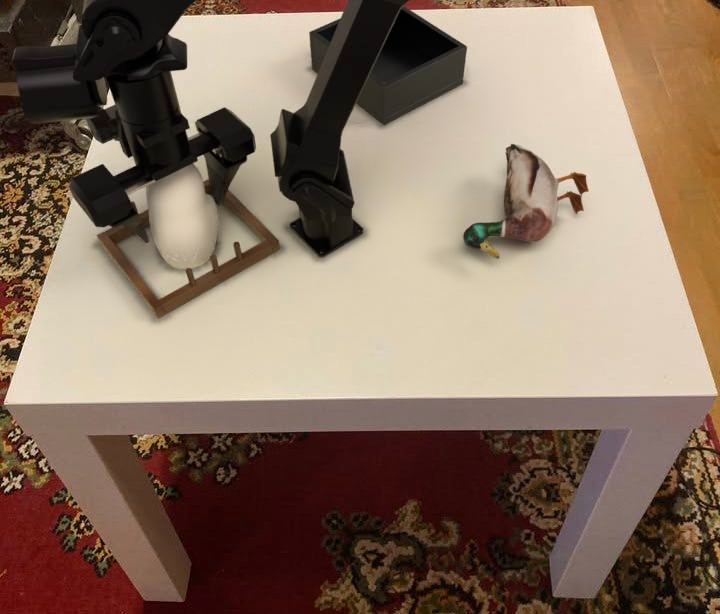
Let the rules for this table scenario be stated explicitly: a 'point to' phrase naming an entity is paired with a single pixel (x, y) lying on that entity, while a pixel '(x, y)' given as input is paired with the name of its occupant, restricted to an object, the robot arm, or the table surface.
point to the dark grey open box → (403, 66)
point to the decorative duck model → (526, 201)
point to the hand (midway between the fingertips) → (182, 221)
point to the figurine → (182, 218)
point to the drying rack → (194, 285)
